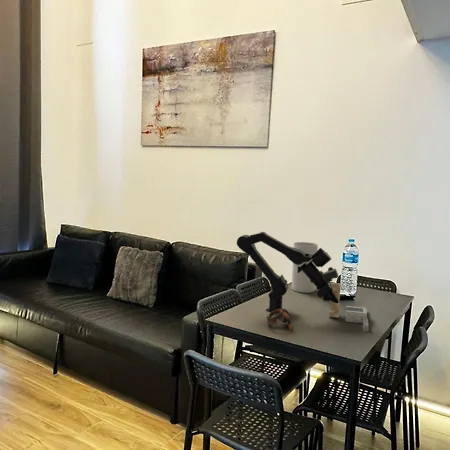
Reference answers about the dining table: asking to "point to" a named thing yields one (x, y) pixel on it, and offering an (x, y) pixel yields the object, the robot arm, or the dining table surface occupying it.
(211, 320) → the dining table surface
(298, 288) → the cylinder vase
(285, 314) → the brown curled piece
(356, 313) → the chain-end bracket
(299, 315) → the dining table surface
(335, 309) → the beech pin
